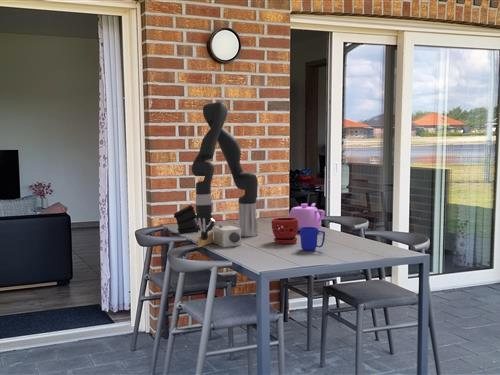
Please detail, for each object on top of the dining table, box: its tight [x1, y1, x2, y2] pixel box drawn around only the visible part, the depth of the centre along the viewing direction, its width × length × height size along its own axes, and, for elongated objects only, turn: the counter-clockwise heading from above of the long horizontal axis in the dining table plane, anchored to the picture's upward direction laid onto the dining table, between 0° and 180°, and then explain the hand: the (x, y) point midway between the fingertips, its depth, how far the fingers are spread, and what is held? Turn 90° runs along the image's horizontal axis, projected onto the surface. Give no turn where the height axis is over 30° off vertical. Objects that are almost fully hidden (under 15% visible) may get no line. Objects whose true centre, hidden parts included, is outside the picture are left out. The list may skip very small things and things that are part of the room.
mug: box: [299, 227, 326, 252], centre depth 264 cm, size 8×12×10 cm
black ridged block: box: [173, 204, 199, 234], centre depth 315 cm, size 4×13×15 cm, turn 107°
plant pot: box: [271, 216, 299, 245], centre depth 283 cm, size 13×13×12 cm
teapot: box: [288, 202, 326, 232], centre depth 320 cm, size 23×21×15 cm
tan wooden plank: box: [196, 231, 214, 248], centre depth 279 cm, size 2×14×5 cm, turn 156°
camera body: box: [213, 224, 242, 248], centre depth 280 cm, size 9×15×9 cm, turn 25°
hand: (204, 239), depth 273 cm, fingers closed
